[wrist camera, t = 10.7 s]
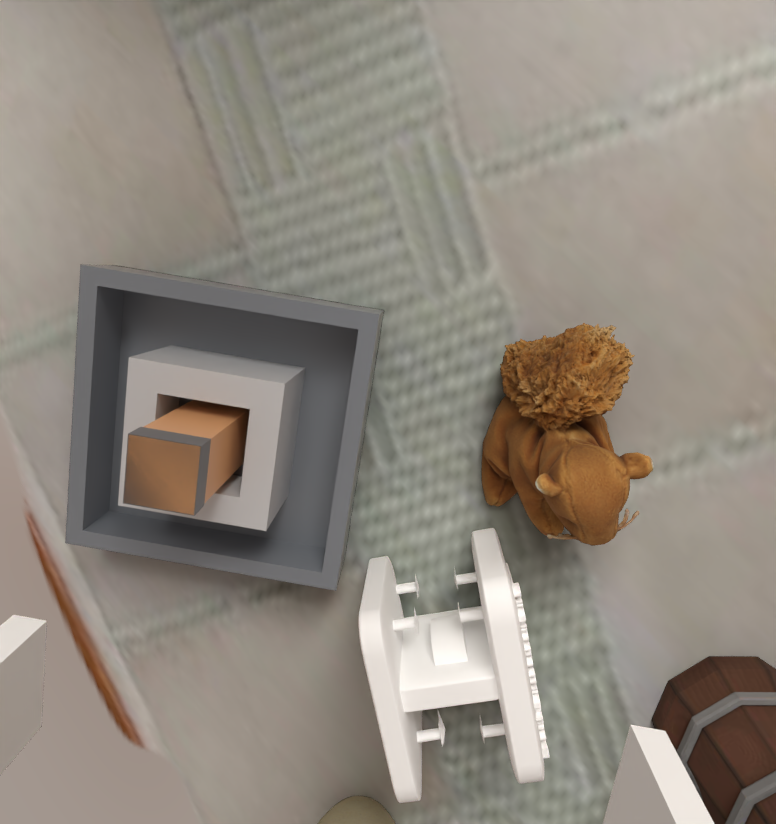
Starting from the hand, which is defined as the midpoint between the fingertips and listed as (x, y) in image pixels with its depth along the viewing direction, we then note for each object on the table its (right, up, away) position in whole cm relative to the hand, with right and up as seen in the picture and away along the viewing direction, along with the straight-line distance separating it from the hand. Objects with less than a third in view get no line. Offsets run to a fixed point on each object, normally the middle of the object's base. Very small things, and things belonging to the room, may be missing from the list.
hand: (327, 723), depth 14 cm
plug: (-11, +6, +31) cm, 33 cm away
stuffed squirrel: (+13, +7, +34) cm, 37 cm away
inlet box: (-10, +6, +35) cm, 37 cm away
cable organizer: (+6, -9, +37) cm, 39 cm away
